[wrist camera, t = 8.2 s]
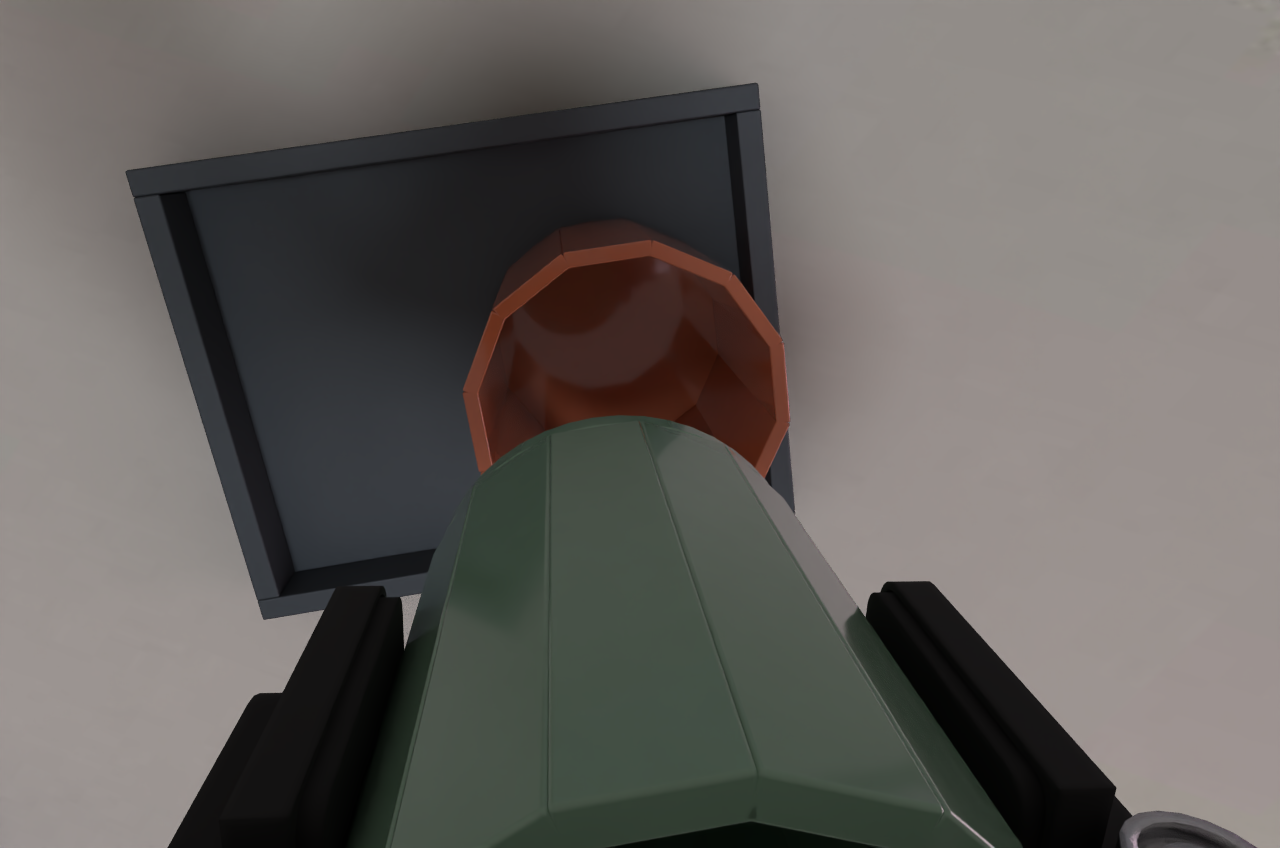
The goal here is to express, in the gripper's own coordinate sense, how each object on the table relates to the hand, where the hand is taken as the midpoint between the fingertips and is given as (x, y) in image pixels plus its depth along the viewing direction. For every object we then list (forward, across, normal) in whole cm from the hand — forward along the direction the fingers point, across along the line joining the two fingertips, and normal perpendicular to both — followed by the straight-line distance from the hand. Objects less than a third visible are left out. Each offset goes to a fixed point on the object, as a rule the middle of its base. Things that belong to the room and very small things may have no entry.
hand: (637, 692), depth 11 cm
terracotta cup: (+21, -1, 0) cm, 21 cm away
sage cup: (+3, 0, 0) cm, 3 cm away
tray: (+22, +3, 0) cm, 22 cm away
